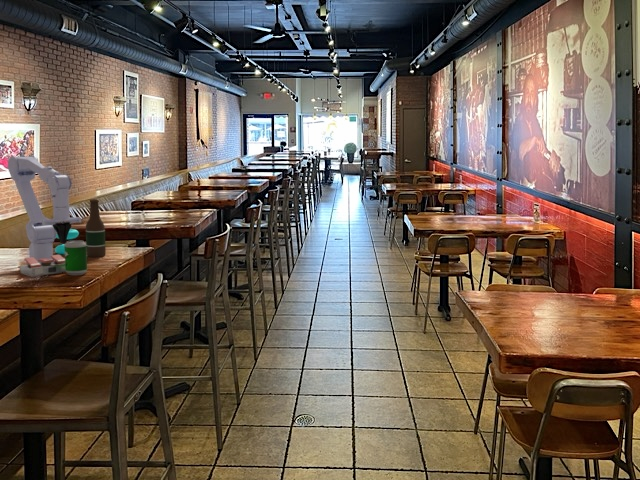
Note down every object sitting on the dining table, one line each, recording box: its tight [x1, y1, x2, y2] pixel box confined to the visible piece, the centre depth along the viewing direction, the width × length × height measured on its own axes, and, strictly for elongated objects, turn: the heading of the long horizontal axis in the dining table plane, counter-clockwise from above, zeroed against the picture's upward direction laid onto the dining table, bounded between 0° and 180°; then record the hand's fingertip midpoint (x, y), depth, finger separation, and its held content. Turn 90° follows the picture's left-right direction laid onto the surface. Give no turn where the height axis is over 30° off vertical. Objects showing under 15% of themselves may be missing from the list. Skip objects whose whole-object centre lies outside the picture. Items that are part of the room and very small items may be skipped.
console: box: [19, 260, 66, 278], centre depth 242 cm, size 9×15×4 cm, turn 139°
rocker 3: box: [51, 254, 65, 263], centre depth 246 cm, size 6×3×1 cm, turn 50°
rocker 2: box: [38, 258, 55, 263], centre depth 242 cm, size 6×3×1 cm, turn 49°
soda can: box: [63, 239, 88, 276], centre depth 240 cm, size 8×8×12 cm
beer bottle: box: [85, 198, 107, 258], centre depth 277 cm, size 8×8×24 cm
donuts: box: [54, 228, 80, 255], centre depth 284 cm, size 10×10×10 cm
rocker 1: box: [24, 256, 41, 268], centre depth 238 cm, size 6×3×1 cm, turn 50°
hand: (63, 242), depth 248 cm, fingers closed
